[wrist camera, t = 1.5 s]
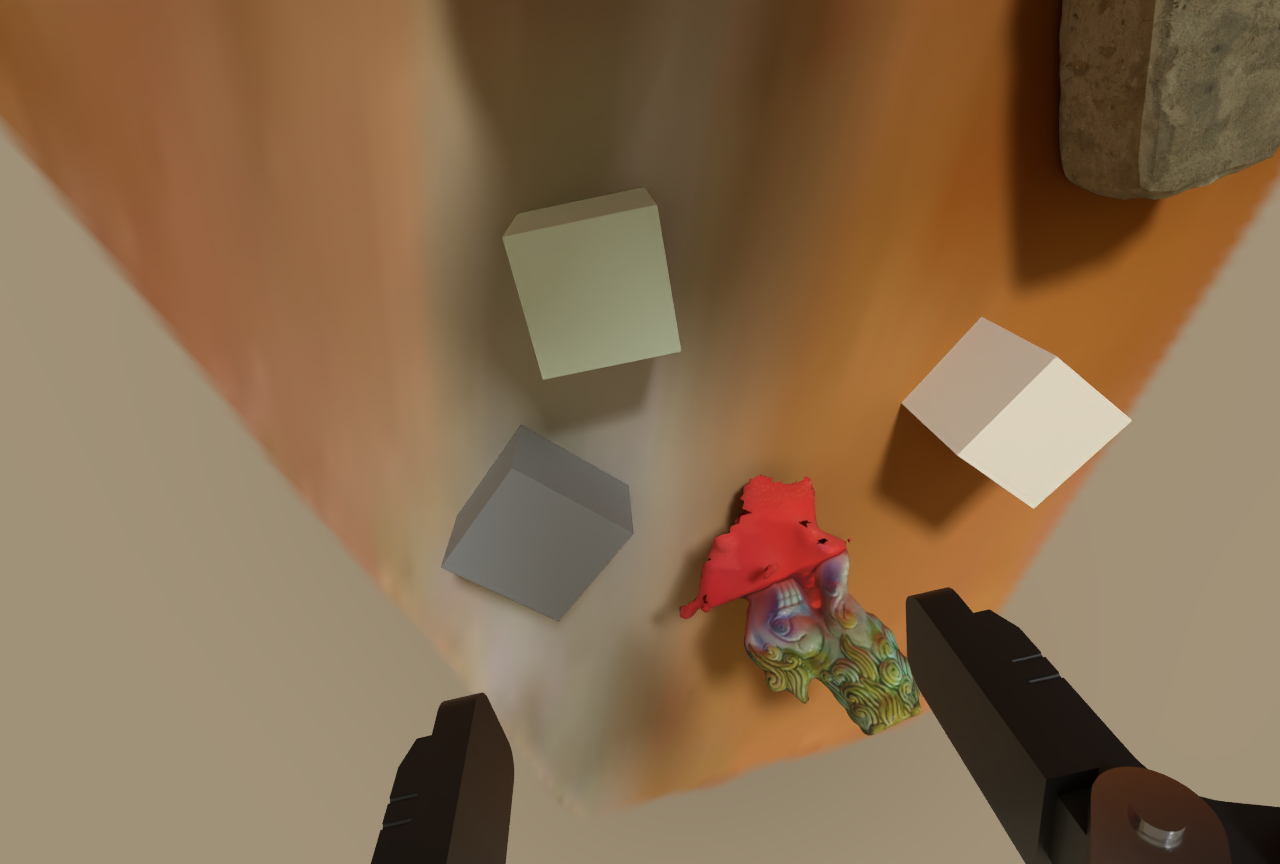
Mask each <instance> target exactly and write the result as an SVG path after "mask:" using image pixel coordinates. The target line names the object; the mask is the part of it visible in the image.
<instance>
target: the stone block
mask: <svg viewBox="0 0 1280 864" xmlns="http://www.w3.org/2000/svg"><path fill="white" fill-rule="evenodd" d="M1059 35H1060V70H1059V75H1060V87H1061V98H1060V107H1059V147H1060V155H1061V162H1062V166H1063V170H1064V174H1065V176H1066V177H1067V178H1068V180H1069V181H1070V182H1072V183H1074V184H1075V185H1077V186H1079V187H1081V188H1083V189H1086V190H1088V191H1090V192H1092V193H1095V194H1097V195H1100V196H1104V197H1110V198H1117V199H1123V200H1128V199H1133V198H1146V199H1151V200H1156V199H1162V198H1167V197H1170V196H1173V195H1177V194H1179V193H1181V192H1183V191H1186V190H1188V189H1192V188H1196V187H1201V186H1205V185H1209V184H1211V183H1212V182H1214V181H1216V180H1217V179H1219V178H1221V177H1224V176H1226V175H1229V174H1232V173H1236V172H1239V171H1241V170H1243V169H1245V168H1247V167H1250V166H1252V165H1254V164H1256V163H1259V162H1261V161H1263V160H1265V159H1267V158H1270V157H1272V156H1273V155H1274V154H1275V152H1276V151H1277V149H1278V148H1279V146H1280V0H1062V19H1061V26H1060V33H1059Z"/></svg>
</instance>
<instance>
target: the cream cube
mask: <svg viewBox="0 0 1280 864" xmlns="http://www.w3.org/2000/svg"><path fill="white" fill-rule="evenodd" d="M902 404H903V405H904V406H905V407H906V408H907V409H908V410H909V411H910V412H911V413H912V414H913V415H915V416H916V417H917V418H918V419H919V420H920V421H921V422H922V423H923V424H924V425H925V426H926V427H927V428H928V429H930V430H931V431H932V432H933V433H934V434H935V435H936V436H937V437H938V438H939V439H940V440H941V441H942V442H943V443H945V444H946V445H947V446H948V447H949V448H950V449H951V450H952V451H953V452H954V453H955V454H956V455H957V456H959V457H960V458H962V459H963V460H965V461H966V462H967V463H969V464H970V465H972V466H973V467H975V468H976V469H977V470H979V471H980V472H982V473H983V474H985V475H986V476H987V477H989V478H990V479H992V480H993V481H995V482H996V483H997V484H999V485H1000V486H1002V487H1003V488H1005V489H1006V490H1007V491H1009V492H1010V493H1012V494H1013V495H1015V496H1016V497H1017V498H1019V499H1020V500H1022V501H1023V502H1025V503H1026V504H1027V505H1029V506H1030V507H1032V508H1033V509H1034V508H1035V507H1036V506H1037V505H1039V504H1040V503H1041V502H1042V501H1043V500H1044V499H1045V498H1046V497H1047V496H1049V495H1050V494H1051V493H1052V492H1053V491H1054V490H1055V489H1056V488H1057V487H1059V486H1060V485H1061V484H1062V483H1063V482H1064V481H1065V480H1066V479H1068V478H1069V477H1070V476H1071V475H1072V474H1073V473H1074V472H1075V471H1076V470H1078V469H1079V468H1080V467H1081V466H1082V465H1083V464H1084V463H1085V462H1086V461H1088V460H1089V459H1090V458H1091V457H1092V456H1093V455H1094V454H1095V453H1096V452H1098V451H1099V450H1100V449H1101V448H1102V447H1103V446H1104V445H1105V444H1106V443H1108V442H1109V441H1110V440H1111V439H1112V438H1113V437H1114V436H1115V435H1116V434H1118V433H1119V432H1120V431H1121V430H1122V429H1123V428H1124V427H1125V426H1126V425H1128V424H1129V423H1130V422H1131V421H1132V420H1131V419H1130V418H1129V417H1127V416H1126V415H1125V414H1124V413H1123V412H1122V411H1120V410H1119V409H1118V408H1117V407H1116V406H1114V405H1113V404H1112V403H1111V402H1110V401H1109V400H1107V399H1106V398H1105V397H1104V396H1103V395H1101V394H1100V393H1099V392H1098V391H1097V390H1096V389H1094V388H1093V387H1092V386H1091V385H1090V384H1089V383H1087V382H1086V381H1085V380H1084V379H1083V378H1081V377H1080V376H1079V375H1078V374H1077V373H1076V372H1074V371H1073V370H1072V369H1071V368H1070V367H1068V366H1067V365H1066V364H1065V363H1064V362H1063V361H1061V360H1060V359H1059V358H1058V357H1057V356H1055V355H1053V354H1051V353H1049V352H1047V351H1045V350H1043V349H1041V348H1040V347H1038V346H1036V345H1034V344H1032V343H1030V342H1028V341H1026V340H1024V339H1023V338H1021V337H1019V336H1017V335H1015V334H1013V333H1011V332H1009V331H1007V330H1005V329H1004V328H1002V327H1000V326H998V325H996V324H994V323H992V322H990V321H988V320H987V319H985V318H983V317H981V318H980V319H979V320H978V321H977V322H976V323H975V324H974V325H973V327H972V328H971V329H970V330H969V331H968V332H967V333H966V334H965V335H964V336H963V337H962V338H961V339H960V341H959V342H958V343H957V344H956V345H955V346H954V347H953V348H952V349H951V350H950V351H949V352H948V353H947V354H946V356H945V357H944V358H943V359H942V360H941V361H940V362H939V363H938V364H937V365H936V366H935V367H934V368H933V370H932V371H931V372H930V373H929V374H928V375H927V376H926V377H925V378H924V379H923V380H922V381H921V382H920V384H919V385H918V386H917V387H916V388H915V389H914V390H913V391H912V392H911V393H910V394H909V395H908V396H907V397H906V399H905V400H904V401H903V402H902Z"/></svg>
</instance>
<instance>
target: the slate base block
mask: <svg viewBox="0 0 1280 864" xmlns="http://www.w3.org/2000/svg"><path fill="white" fill-rule="evenodd" d="M632 535H633V524H632V515H631V506H630V497H629V487H628V485H627V484H625V483H623V482H621V481H620V480H618V479H616V478H614V477H612V476H611V475H609V474H607V473H605V472H604V471H602V470H600V469H598V468H597V467H595V466H593V465H591V464H589V463H588V462H586V461H584V460H582V459H581V458H579V457H577V456H575V455H574V454H572V453H570V452H568V451H566V450H565V449H563V448H561V447H559V446H558V445H556V444H554V443H552V442H551V441H549V440H547V439H545V438H543V437H542V436H540V435H538V434H536V433H535V432H533V431H531V430H529V429H528V428H526V427H524V426H522V425H520V427H519V428H518V430H517V431H516V433H515V434H514V435H513V437H512V438H511V440H510V441H509V443H508V444H507V445H506V447H505V448H504V450H503V451H502V453H501V454H500V455H499V457H498V458H497V460H496V461H495V463H494V464H493V465H492V467H491V468H490V470H489V471H488V473H487V474H486V475H485V477H484V478H483V480H482V481H481V483H480V484H479V485H478V487H477V488H476V490H475V491H474V493H473V494H472V495H471V497H470V498H469V500H468V501H467V503H466V504H465V505H464V507H463V508H462V510H461V511H460V513H459V514H458V515H457V518H456V521H455V524H454V527H453V531H452V534H451V537H450V540H449V543H448V546H447V550H446V553H445V556H444V559H443V562H442V565H441V568H443V569H445V570H448V571H450V572H452V573H454V574H456V575H459V576H461V577H463V578H465V579H467V580H470V581H472V582H474V583H476V584H478V585H481V586H483V587H485V588H487V589H489V590H491V591H494V592H496V593H498V594H500V595H502V596H505V597H507V598H509V599H511V600H513V601H516V602H518V603H520V604H522V605H524V606H527V607H529V608H531V609H533V610H535V611H538V612H540V613H542V614H544V615H546V616H548V617H551V618H553V619H555V620H557V621H559V620H560V619H561V618H562V617H563V616H564V614H565V613H566V612H567V611H568V610H569V608H570V607H571V606H572V605H573V604H574V603H575V601H576V600H577V599H578V598H579V597H580V596H581V594H582V593H583V592H584V591H585V590H586V589H587V587H588V586H589V585H590V584H591V583H592V581H593V580H594V579H595V578H596V577H597V576H598V574H599V573H600V572H601V571H602V570H603V569H604V567H605V566H606V565H607V564H608V563H609V562H610V560H611V559H612V558H613V557H614V556H615V554H616V553H617V552H618V551H619V550H620V549H621V547H622V546H623V545H624V544H625V543H626V542H627V540H628V539H629V538H630V537H631V536H632Z"/></svg>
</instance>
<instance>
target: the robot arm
mask: <svg viewBox="0 0 1280 864" xmlns="http://www.w3.org/2000/svg"><path fill="white" fill-rule="evenodd" d="M906 632H907V657H908V662H909V666H910V669H911V672H912V675H913V678H914V680H915V682H916V684H917V686H918V688H919V690H920V692H921V693H922V695H923V697H924V698H925V700H926V701H927V703H928V705H929V706H930V708H931V710H932V711H933V713H934V715H935V716H936V718H937V719H938V721H939V723H940V724H941V726H942V728H943V729H944V731H945V733H946V734H947V736H948V737H949V739H950V741H951V742H952V744H953V746H954V747H955V749H956V751H957V752H958V754H959V755H960V757H961V759H962V760H963V762H964V764H965V765H966V767H967V768H968V770H969V772H970V773H971V775H972V777H973V778H974V780H975V782H976V783H977V785H978V787H979V788H980V790H981V791H982V793H983V795H984V796H985V798H986V800H987V801H988V803H989V805H990V806H991V808H992V809H993V811H994V813H995V814H996V816H997V818H998V819H999V821H1000V823H1001V824H1002V826H1003V827H1004V829H1005V831H1006V832H1007V834H1008V836H1009V837H1010V839H1011V841H1012V842H1013V844H1014V845H1015V847H1016V849H1017V850H1018V852H1019V853H1020V855H1021V857H1022V859H1023V860H1024V862H1025V863H1026V864H1280V807H1272V806H1262V805H1252V804H1242V803H1232V802H1224V801H1217V800H1212V799H1208V798H1204V797H1200V796H1198V795H1197V794H1196V793H1194V792H1193V791H1192V790H1190V789H1189V788H1188V787H1186V786H1185V785H1183V784H1181V783H1180V782H1178V781H1176V780H1174V779H1172V778H1170V777H1168V776H1166V775H1164V774H1161V773H1158V772H1155V771H1152V770H1148V769H1147V768H1146V767H1145V766H1143V765H1142V764H1141V763H1140V762H1139V761H1138V760H1137V759H1136V758H1135V757H1134V756H1133V755H1132V754H1131V753H1130V752H1129V751H1128V750H1127V748H1126V747H1125V746H1124V745H1123V744H1122V743H1121V742H1120V741H1119V739H1118V738H1117V737H1116V736H1115V735H1114V734H1113V733H1112V731H1111V730H1110V729H1109V728H1108V727H1107V726H1106V725H1105V724H1104V722H1103V721H1102V720H1101V719H1100V718H1099V717H1098V716H1097V715H1096V714H1095V712H1094V711H1093V710H1092V709H1091V708H1090V707H1089V706H1088V704H1087V703H1086V702H1085V701H1084V700H1083V699H1082V698H1081V697H1080V695H1079V694H1078V693H1077V692H1076V691H1075V690H1074V689H1073V688H1072V686H1071V685H1070V684H1069V683H1068V682H1067V681H1066V680H1065V679H1064V678H1061V677H1060V675H1059V672H1058V671H1057V670H1056V669H1055V668H1054V666H1053V665H1052V664H1051V663H1050V662H1049V661H1048V660H1047V658H1046V657H1043V656H1042V655H1041V652H1040V651H1039V649H1038V648H1037V647H1036V646H1035V645H1034V644H1033V643H1032V642H1031V641H1030V639H1029V638H1028V637H1027V636H1026V635H1025V634H1024V633H1023V631H1022V630H1021V629H1020V628H1019V627H1017V626H1016V625H1014V624H1012V623H1011V622H1009V621H1007V620H1006V619H1004V618H1002V617H1001V616H999V615H998V614H996V613H994V612H993V611H991V610H985V611H980V612H976V613H973V612H972V611H971V610H970V609H969V607H968V606H967V605H966V604H965V602H964V601H963V600H962V599H961V598H960V596H959V595H958V594H957V593H956V592H955V591H954V590H953V589H951V588H948V587H947V588H943V589H938V590H934V591H930V592H925V593H921V594H916V595H912V596H908V597H907V599H906ZM513 784H514V763H513V756H512V751H511V747H510V744H509V742H508V740H507V738H506V735H505V733H504V731H503V729H502V727H501V725H500V723H499V721H498V718H497V716H496V714H495V712H494V710H493V708H492V706H491V704H490V702H489V699H488V698H487V696H486V695H485V694H484V693H478V694H474V695H469V696H465V697H461V698H456V699H452V700H448V701H444V702H442V703H441V705H440V707H439V709H438V712H437V716H436V721H435V725H434V729H433V733H432V735H431V736H426V737H422V738H418V739H416V741H415V742H414V744H413V746H412V747H411V749H410V750H409V752H408V753H407V755H406V756H405V758H404V760H403V761H402V763H401V764H400V766H399V767H398V771H397V774H396V778H395V781H394V785H393V788H392V792H391V795H390V804H388V806H387V809H386V813H385V816H384V820H383V823H382V824H383V829H382V830H380V834H379V837H378V841H377V844H376V848H375V851H374V855H373V858H372V862H371V864H505V863H506V853H507V843H508V833H509V823H510V813H511V804H512V793H513Z"/></svg>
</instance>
